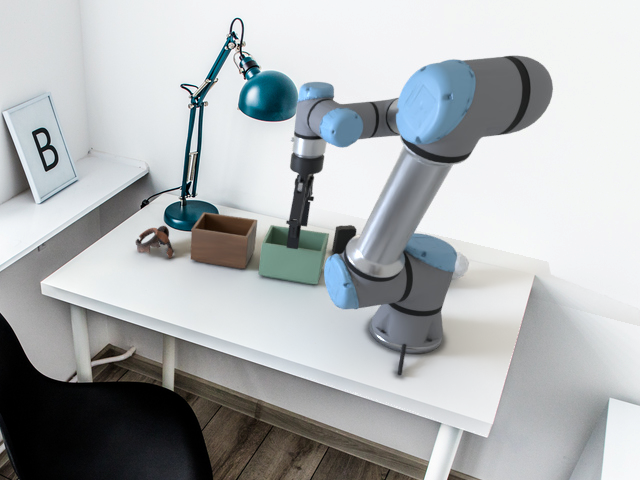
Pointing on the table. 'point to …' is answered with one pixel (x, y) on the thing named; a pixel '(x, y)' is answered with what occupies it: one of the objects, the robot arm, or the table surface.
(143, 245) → the brown headphones
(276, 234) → the box
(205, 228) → the bottom basket
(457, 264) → the puffin
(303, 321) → the table surface
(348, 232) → the ink cartridge
